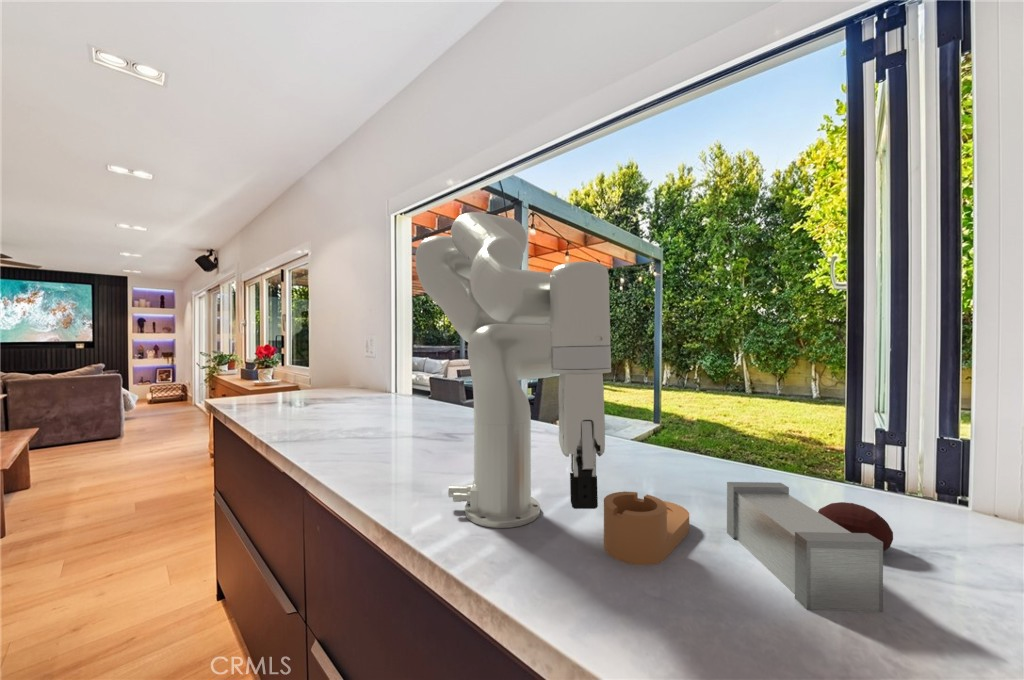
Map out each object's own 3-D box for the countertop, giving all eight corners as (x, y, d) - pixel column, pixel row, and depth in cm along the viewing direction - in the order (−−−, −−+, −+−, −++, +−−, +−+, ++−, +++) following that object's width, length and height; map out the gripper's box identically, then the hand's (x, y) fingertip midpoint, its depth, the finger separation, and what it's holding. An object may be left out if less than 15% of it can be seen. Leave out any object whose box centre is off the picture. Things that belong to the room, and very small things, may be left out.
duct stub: (806, 613, 44) (806, 540, 44) (726, 533, 62) (726, 481, 62) (882, 615, 44) (883, 542, 44) (780, 534, 62) (780, 482, 62)
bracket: (653, 577, 51) (653, 521, 51) (593, 555, 57) (593, 504, 57) (696, 526, 65) (696, 482, 65) (644, 512, 71) (644, 471, 70)
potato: (822, 528, 64) (822, 489, 64) (895, 549, 58) (896, 505, 58) (810, 545, 59) (811, 502, 59) (889, 569, 53) (889, 521, 53)
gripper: (548, 360, 61) (551, 486, 60) (554, 363, 46) (558, 532, 45) (600, 359, 60) (603, 486, 60) (623, 362, 45) (627, 532, 45)
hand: (584, 506), depth 52 cm, fingers closed
